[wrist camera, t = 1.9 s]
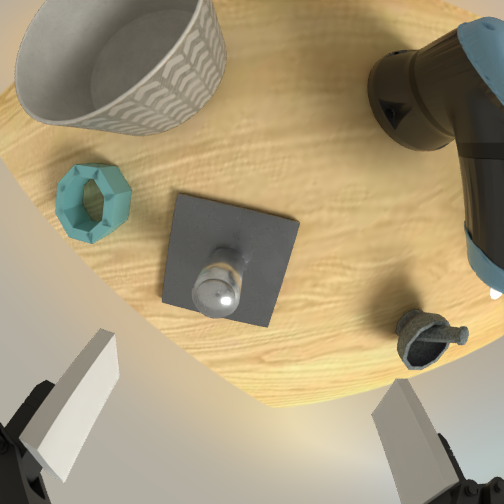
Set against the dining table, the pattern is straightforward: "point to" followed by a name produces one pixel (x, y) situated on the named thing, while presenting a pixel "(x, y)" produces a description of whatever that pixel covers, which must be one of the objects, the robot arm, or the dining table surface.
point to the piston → (226, 259)
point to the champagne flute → (494, 294)
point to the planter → (120, 63)
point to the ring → (72, 198)
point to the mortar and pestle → (426, 338)
